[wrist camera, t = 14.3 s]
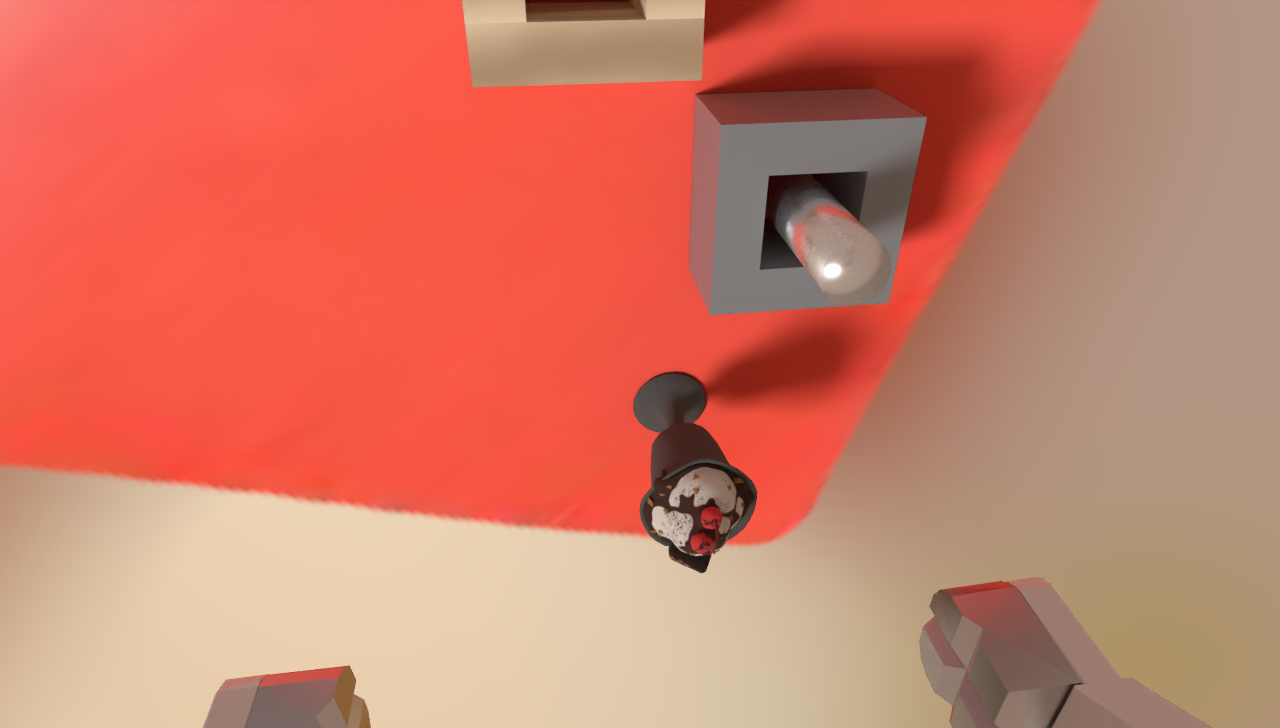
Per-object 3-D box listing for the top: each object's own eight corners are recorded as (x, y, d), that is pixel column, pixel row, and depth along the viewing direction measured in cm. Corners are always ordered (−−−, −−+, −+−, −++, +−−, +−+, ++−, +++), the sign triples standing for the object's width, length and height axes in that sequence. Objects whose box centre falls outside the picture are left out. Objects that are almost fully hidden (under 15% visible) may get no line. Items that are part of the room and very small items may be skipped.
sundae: (673, 342, 47) (727, 507, 35) (736, 399, 50) (807, 569, 38) (599, 404, 49) (626, 582, 36) (665, 456, 52) (710, 635, 40)
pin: (751, 155, 41) (826, 241, 31) (807, 152, 41) (898, 237, 31) (747, 209, 43) (816, 307, 33) (800, 206, 43) (884, 303, 33)
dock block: (695, 94, 39) (721, 124, 34) (876, 88, 40) (927, 117, 35) (688, 266, 44) (709, 315, 39) (848, 257, 45) (888, 303, 40)
